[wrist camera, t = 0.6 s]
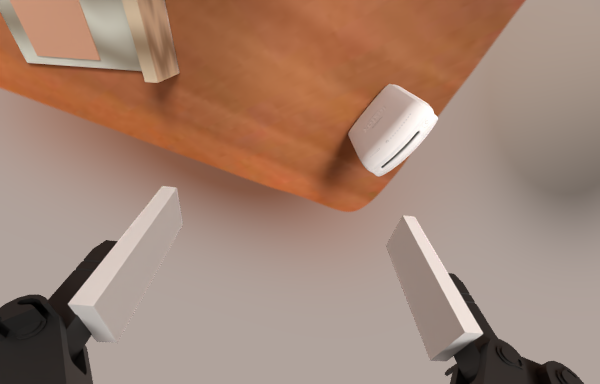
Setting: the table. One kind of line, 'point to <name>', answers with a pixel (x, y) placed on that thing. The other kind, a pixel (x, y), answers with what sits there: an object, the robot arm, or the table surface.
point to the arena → (115, 37)
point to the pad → (56, 28)
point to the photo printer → (391, 129)
